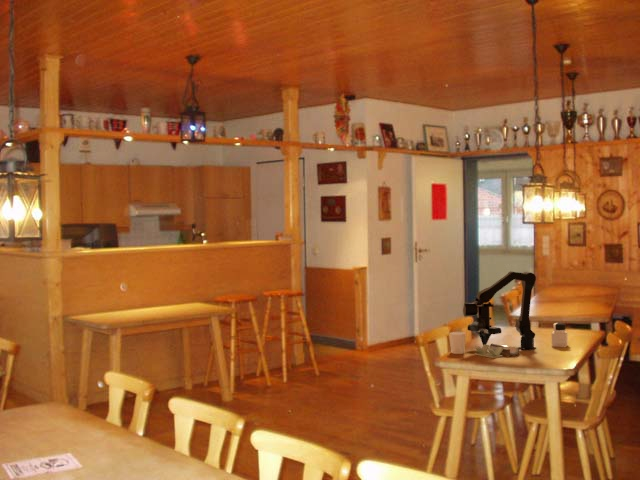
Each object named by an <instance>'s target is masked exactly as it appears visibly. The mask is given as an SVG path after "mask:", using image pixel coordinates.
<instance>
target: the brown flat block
mask: <svg viewBox="0 0 640 480" xmlns="http://www.w3.org/2000/svg"><path fill="white" fill-rule="evenodd" d="M515 347H516V348H518V355H520V348H519V346H515ZM500 355H503V356H502V357H507V356H509V357H511V356H510V349H506V348H503V352H501V353H500ZM518 355H517V356H518Z"/></svg>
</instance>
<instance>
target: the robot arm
mask: <svg viewBox="0 0 640 480" xmlns="http://www.w3.org/2000/svg"><path fill="white" fill-rule="evenodd" d="M514 280H515V281H516V280H517V281H521V287H522V295H521V303H520V304H521V305H520V314H519V318H515V325H514V327H515V329H516V331H517V333H519V335H520V336H521V337H520V347H519V346H518V347H519V350H525V351H529V350H530V351H531V350H535V349H537V347H535V340H534V338H536V333H535V331H533V330H532V329H531V328H532V327H531V321H530V311H531V302H532V301H531V300H532V292H533V288H534V286H535V283H536V280H537V276H536V275H535V274H534V273H533V272H529V271H524V272H518V271H512V270H511V271H508V272H507V274H506V275H504V276H503V277H501V278H500V279H499V280H497V281H496V282H494V283H493V284H492V285H491V286H489V287H486V288H484V289H482V290H480V291H478V292H477V295H476V298H475V299H474V301H473V302H464V303H463V308H462V314H463V316H464V317H475V316H476V315H477V317H476V318H475V321H473V322H472V323H471V324H468V325H467V331H469V332H475V334H477V335H478V336H479V338H480V341H481V343H482V347H483V346H484V344H486V345H488V341H489V340H490V337H491V336H492V335H498V334H502V328H501V327H499V326H498V327H497V326H493V327H492V324H491V322H490V321H491V320H492V317H491V314H490V308H492V307H494V305H493V304H492V303H491V302H490V301H491V300H492V299H493V298H494V296H495V295H496V294H497V293H498V292H499V291H500V290H502V289H503V288H505V286H508V284H510V283H511V282H512V281H514Z"/></svg>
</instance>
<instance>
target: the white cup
mask: <svg viewBox="0 0 640 480" xmlns="http://www.w3.org/2000/svg"><path fill="white" fill-rule="evenodd" d="M449 345H450V351H451V352H450V353H451V354H453V355H462V354H463V355H464V354H465V349H466V332H462V331H454V332H453V331H452V332H450V333H449Z"/></svg>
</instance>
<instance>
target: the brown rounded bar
mask: <svg viewBox="0 0 640 480" xmlns="http://www.w3.org/2000/svg"><path fill="white" fill-rule="evenodd" d="M497 347H502V348H506V349H510V355H511V356H512V357H516V356H518V348H516V347H517V346H510V345H503V344H499V343H494V342H493V343H490V344H489V349H493V350H494V351H495V350H496V349H497ZM501 352H503V350H502V351H501ZM511 356H510V357H511Z"/></svg>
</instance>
